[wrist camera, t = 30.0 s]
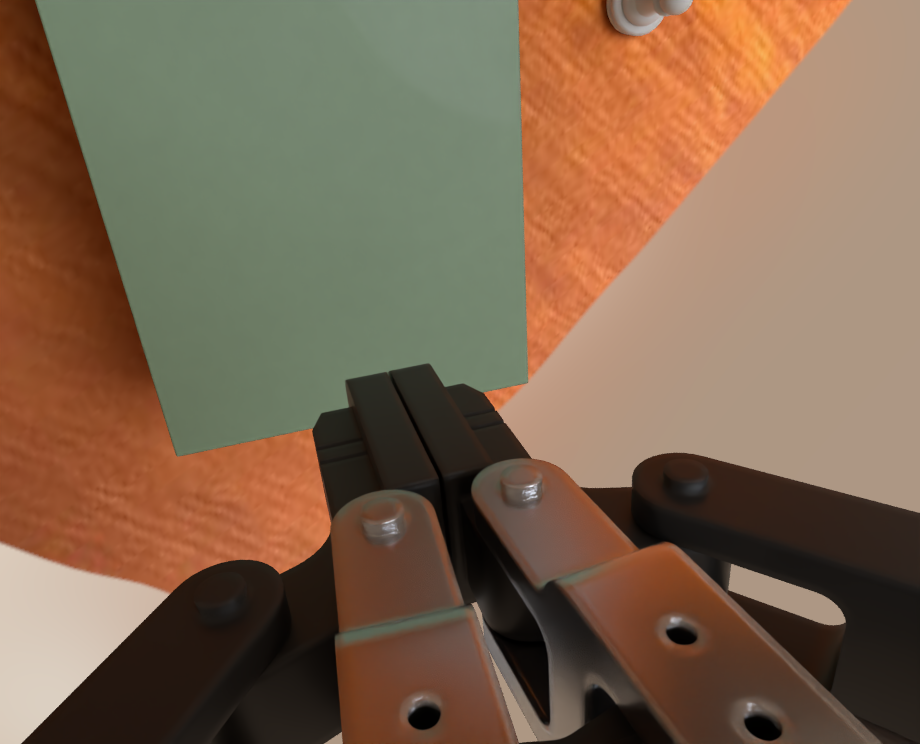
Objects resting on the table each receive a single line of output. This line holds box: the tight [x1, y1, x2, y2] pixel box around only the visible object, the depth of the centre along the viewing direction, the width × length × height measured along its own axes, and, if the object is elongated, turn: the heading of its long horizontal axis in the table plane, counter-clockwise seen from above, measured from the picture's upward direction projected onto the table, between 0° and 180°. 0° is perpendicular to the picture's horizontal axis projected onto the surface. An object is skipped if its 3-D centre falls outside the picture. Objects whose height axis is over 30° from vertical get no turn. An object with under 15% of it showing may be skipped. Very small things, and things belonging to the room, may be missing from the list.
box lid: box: [35, 0, 528, 456], centre depth 22 cm, size 18×13×1 cm
